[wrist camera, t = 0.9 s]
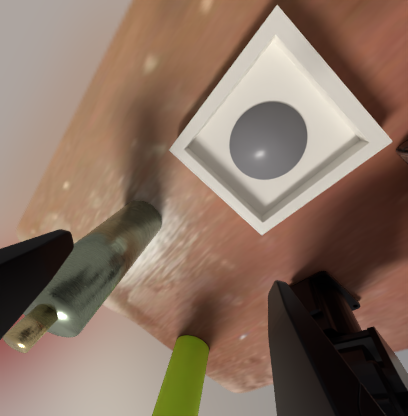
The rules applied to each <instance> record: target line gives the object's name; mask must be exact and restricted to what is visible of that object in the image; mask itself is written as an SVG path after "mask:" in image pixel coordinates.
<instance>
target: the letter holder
mask: <svg viewBox="0 0 408 416" xmlns="http://www.w3.org/2000/svg"><path fill="white" fill-rule="evenodd" d="M396 152H397V154H398V155H399V156H400V157H401V158H402V159H403V160H404V161H405V162H407V163H408V140H407V141H406V142H404V143H403V144H402V145H401V146H399V147H398V149H397V150H396Z"/></svg>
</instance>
